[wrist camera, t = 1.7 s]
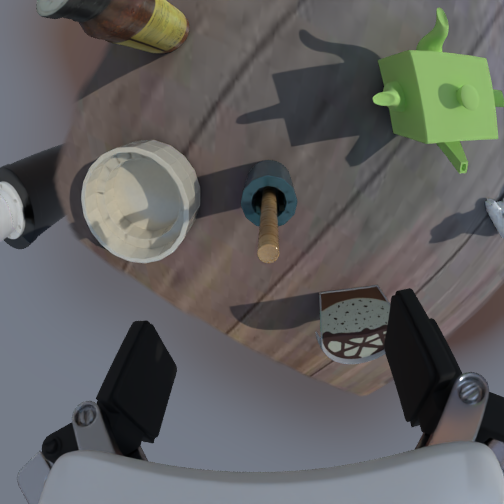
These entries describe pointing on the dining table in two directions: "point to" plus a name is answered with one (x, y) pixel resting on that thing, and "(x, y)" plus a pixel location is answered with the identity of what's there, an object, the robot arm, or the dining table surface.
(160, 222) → the bowl
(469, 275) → the dining table surface
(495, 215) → the sitting furry creature
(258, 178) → the crock
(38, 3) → the sauce bottle
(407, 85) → the kettle
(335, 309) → the food container
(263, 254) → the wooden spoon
